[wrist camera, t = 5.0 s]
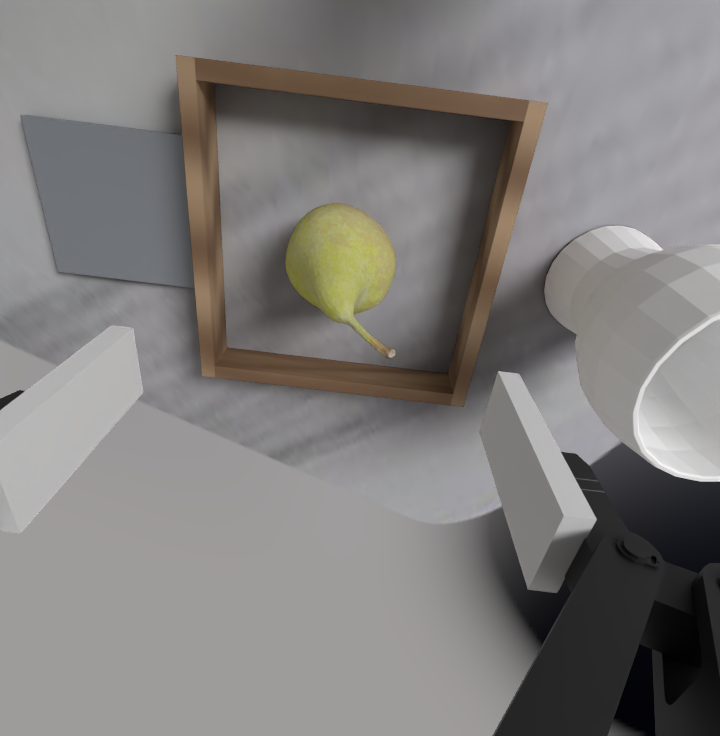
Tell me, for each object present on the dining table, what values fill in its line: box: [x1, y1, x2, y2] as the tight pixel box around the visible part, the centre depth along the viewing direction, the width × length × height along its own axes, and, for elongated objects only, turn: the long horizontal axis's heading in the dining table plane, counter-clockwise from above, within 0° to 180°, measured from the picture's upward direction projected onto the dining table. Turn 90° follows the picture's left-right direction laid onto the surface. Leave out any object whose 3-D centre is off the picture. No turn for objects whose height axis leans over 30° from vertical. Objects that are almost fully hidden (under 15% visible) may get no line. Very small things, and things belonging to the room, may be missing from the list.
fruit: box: [286, 204, 396, 359], centre depth 26 cm, size 7×8×12 cm
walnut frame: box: [176, 55, 548, 407], centre depth 30 cm, size 20×20×3 cm
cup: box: [544, 226, 720, 481], centre depth 25 cm, size 11×11×15 cm
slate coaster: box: [20, 115, 195, 288], centre depth 30 cm, size 10×10×1 cm
